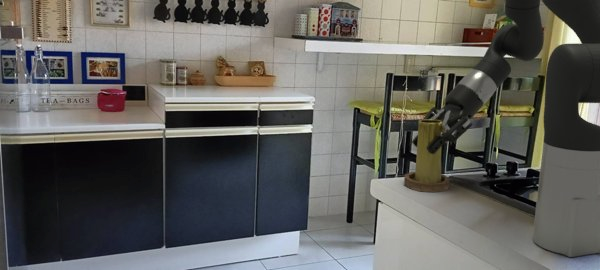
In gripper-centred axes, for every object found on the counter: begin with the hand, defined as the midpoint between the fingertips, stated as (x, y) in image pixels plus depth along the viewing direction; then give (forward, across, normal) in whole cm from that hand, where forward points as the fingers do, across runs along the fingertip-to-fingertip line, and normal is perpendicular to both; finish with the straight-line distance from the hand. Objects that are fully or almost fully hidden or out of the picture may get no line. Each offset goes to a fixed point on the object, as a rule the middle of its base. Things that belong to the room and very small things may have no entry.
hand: (422, 148), depth 113 cm
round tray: (+5, 0, +8) cm, 9 cm away
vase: (+5, 0, +7) cm, 9 cm away
